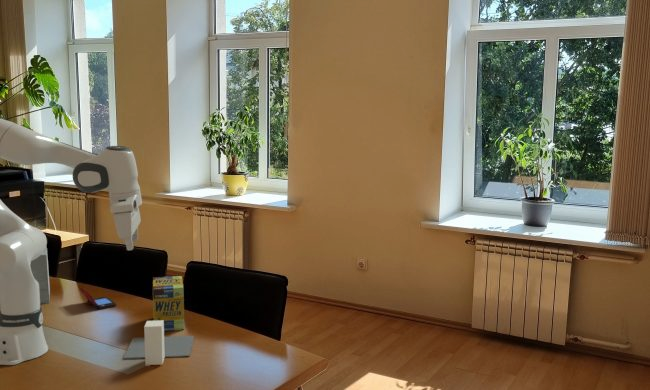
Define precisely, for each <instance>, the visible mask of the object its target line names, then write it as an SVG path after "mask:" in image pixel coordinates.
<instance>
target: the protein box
mask: <svg viewBox="0 0 650 390" xmlns="http://www.w3.org/2000/svg"><path fill="white" fill-rule="evenodd" d="M183 282H184V281H183V276H180V275H179V276H178V275H177V276H156V277H155V276H154V277H152V309H153V310H152V311H153V313H152V315H153V321H158V320H164V332H171V331H183V330H182V329H184V330H185V303H184V302H185V298H184V297H185V295H184V294H185V293H184V291H185V289H184V283H183Z"/></svg>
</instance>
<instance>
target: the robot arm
mask: <svg viewBox="0 0 650 390" xmlns="http://www.w3.org/2000/svg"><path fill="white" fill-rule="evenodd" d="M0 159H2V160H5V161H7V162H10V163H13V164H17V165H24V166H33V165H34V166H35V165H41V164H42V165H43V164H59V165H64V166H66V167H70V168H72V169H73V171H72V182H73V184H74V185H75V186H76V188H77V189H78V190H80V191H81V192H83V193H87V194H89V193H90V194H91V193H97V192H100V191H103V190H107V191H108V195H109V203H110V205H109V210H110V213H111V214H113V222H114V225H115V229H116V234H117V236H118V238H119V240H124V244H125V247H126V251H133V250H134V243H135V242H138V240H139V228H138V227H139V226H140V224H141V221H142V220H141V212H140V206H142V205H143V199H142V192H141V187H140V184H139V182H138V178H139V172H138V171H139V170H138V167H137V161H136V157H135V154H134V152H133V150H132V149H131V148H130V147H127V146H123V145H109V146H106V147H104V149H103V150H102V151H101V152H99V153H95V152H94V153H93V152H91V151H89V150H88V151H87V150H85V149H82V148H79V147H77V146H73V145H71V144H67V143H65V142H61V141H59V140H56V139H53V138H52V137H50V136H47V135H44V134H42V133H40V132H37V131H35V130H32V129H30V128H28V127H25V126H23V125H21V124H19V123H15V122H14V121H10V120H7V119H5V118H4V119H3V118H0ZM47 244H48V238H47V237H46V234H45V232H43V230H41V229H39V228H38V227H34V226H33V225H31V224H29V223H27V222H26V221H25V220H23V218H21V217H20V216H18V215H17V214H16V213H14V211H12V210H11V209H10V208H9V207H8V206H7V205H6V204H5V203H4V202H3V201H2V199H0V365H1V366H2V365H4V366H15V365H18V364H21V363H22V362H25V361H29V360H34V359H36V358H39V357H41V356H43V355H44V354H46V353H47V352H48V351H49V345H48V343H47V341H46V337H45V333H44V329H43V328H44V327H43V324H44V323H43V322H44V316H43V315H44V314H43V308H42V307H43V306H41V304H40V293H39V283H38V282H37V281H36V280H35V279H34V277H33V274H32V271H31V267H30V264H31V261H33V260H35V259H36V258H38V257H39V256H40V255H41V254H42V252H43V251H44V250H45V248H46V246H47Z"/></svg>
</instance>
